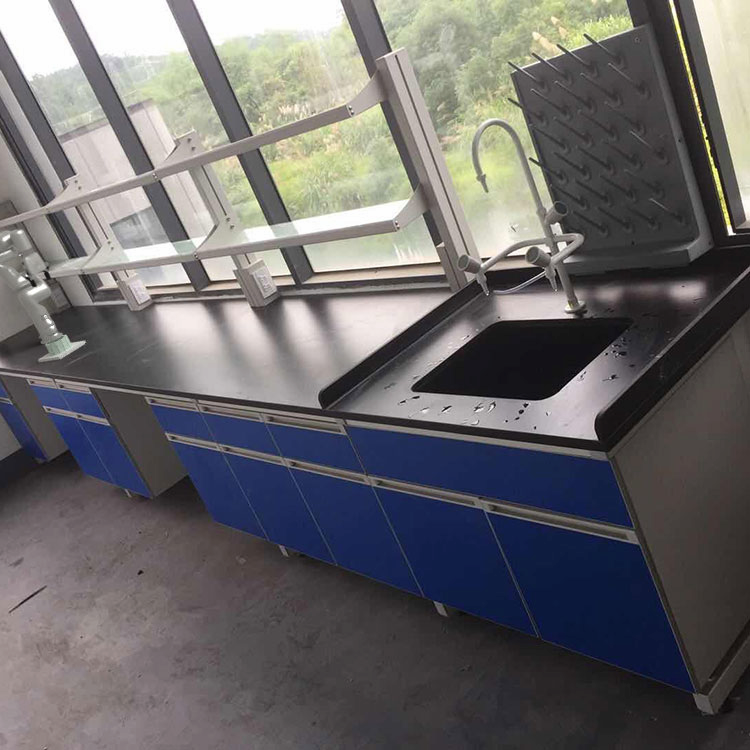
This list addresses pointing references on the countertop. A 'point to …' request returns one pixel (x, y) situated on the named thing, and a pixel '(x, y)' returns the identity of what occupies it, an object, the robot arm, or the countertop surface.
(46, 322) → the plastic bottle
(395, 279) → the countertop surface
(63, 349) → the bottle stand
